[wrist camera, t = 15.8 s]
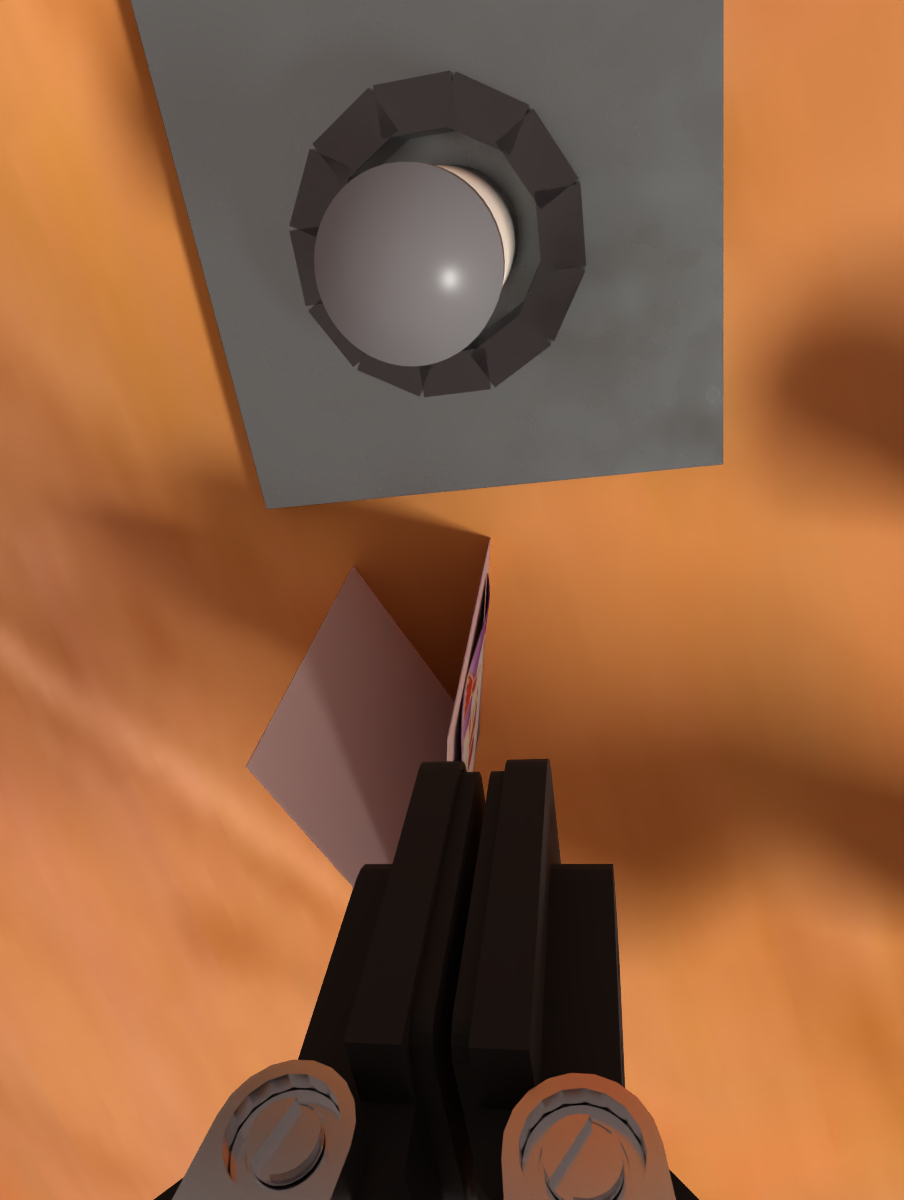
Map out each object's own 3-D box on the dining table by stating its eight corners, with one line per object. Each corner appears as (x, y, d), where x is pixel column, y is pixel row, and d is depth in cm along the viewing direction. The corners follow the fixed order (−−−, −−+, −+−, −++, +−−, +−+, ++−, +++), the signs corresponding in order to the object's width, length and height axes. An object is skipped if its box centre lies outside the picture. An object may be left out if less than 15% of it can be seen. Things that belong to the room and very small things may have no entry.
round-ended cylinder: (509, 147, 30) (484, 142, 21) (530, 298, 32) (515, 350, 23) (371, 177, 31) (292, 184, 22) (401, 321, 33) (340, 379, 24)
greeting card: (495, 736, 44) (462, 986, 30) (357, 722, 44) (267, 960, 31) (509, 539, 38) (476, 738, 25) (351, 526, 39) (239, 714, 26)
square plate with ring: (717, -154, 26) (745, -212, 22) (718, 455, 35) (738, 494, 31) (138, -22, 30) (69, -51, 25) (275, 499, 39) (239, 540, 34)
